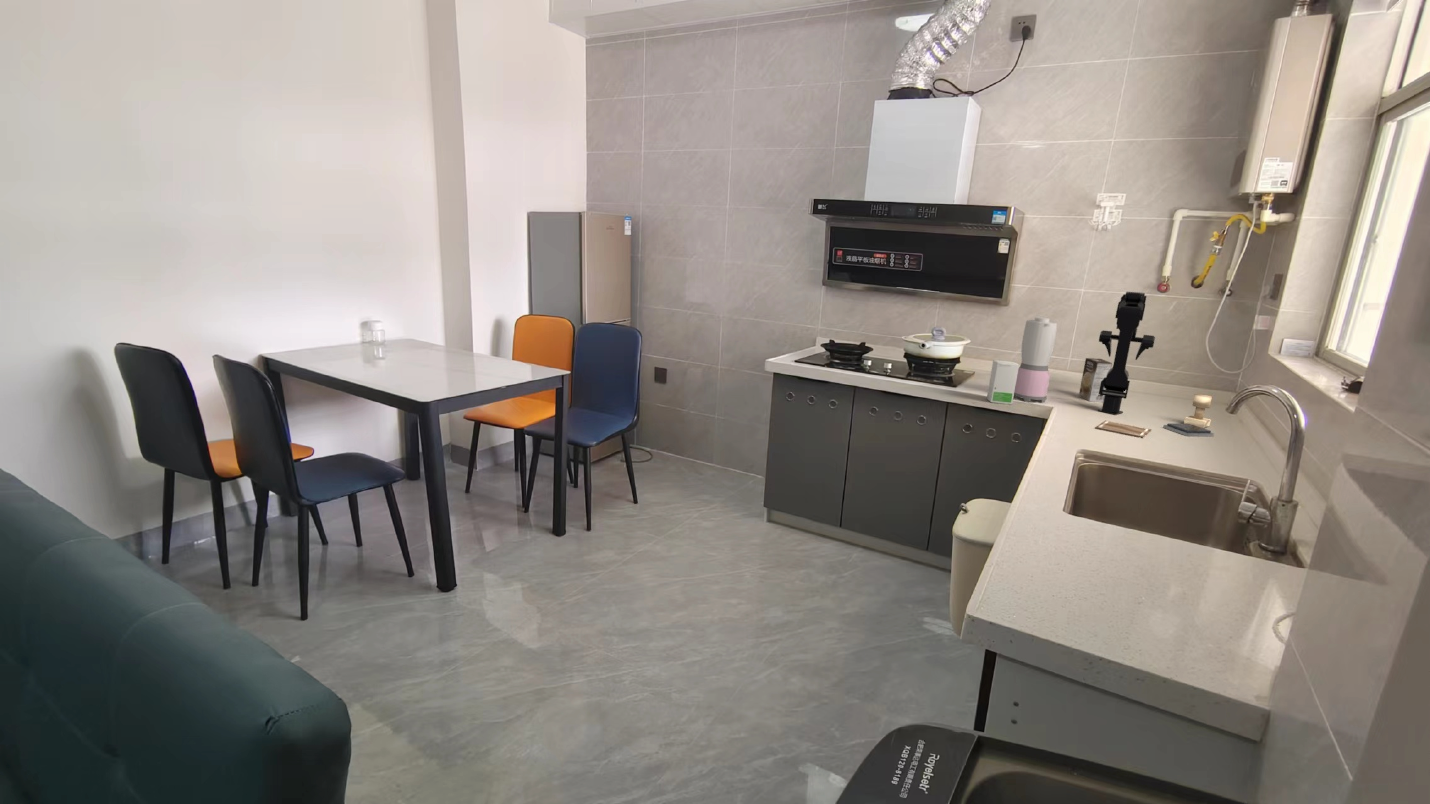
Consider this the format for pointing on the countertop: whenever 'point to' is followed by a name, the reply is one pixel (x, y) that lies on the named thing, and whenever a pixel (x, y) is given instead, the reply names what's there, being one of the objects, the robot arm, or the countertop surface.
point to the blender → (1035, 359)
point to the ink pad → (1188, 430)
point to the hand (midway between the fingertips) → (1122, 357)
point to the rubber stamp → (1199, 411)
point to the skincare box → (1002, 382)
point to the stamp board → (1123, 429)
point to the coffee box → (1093, 379)
